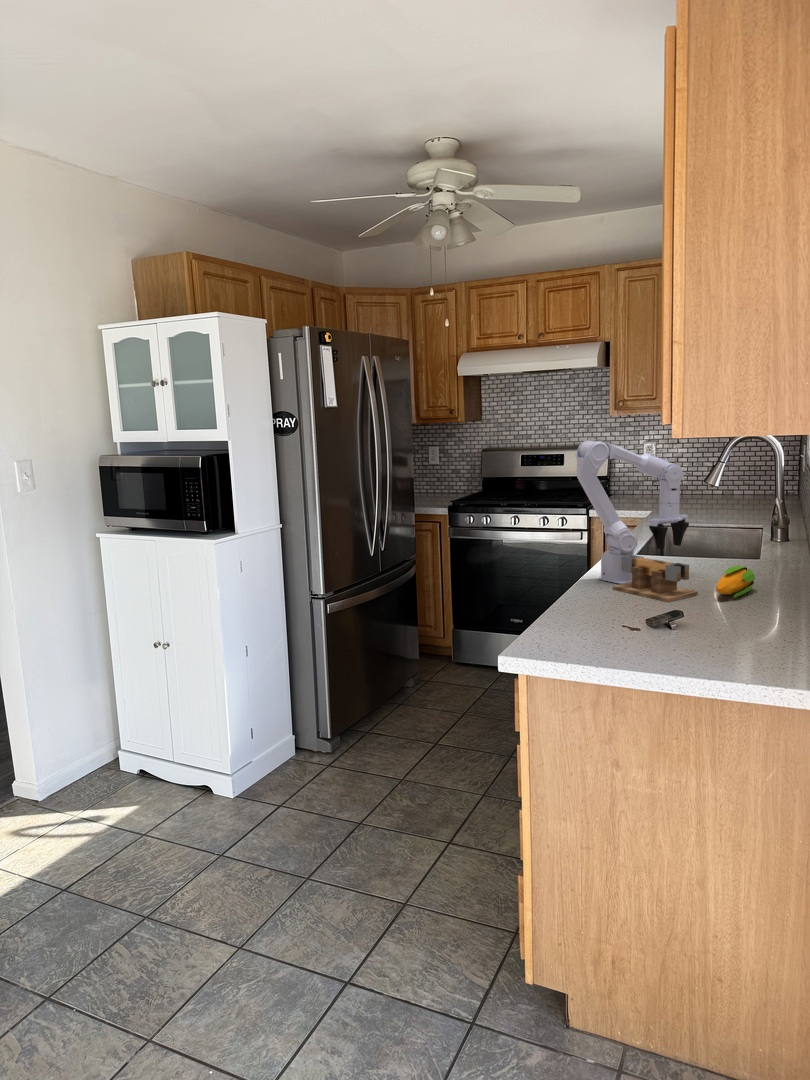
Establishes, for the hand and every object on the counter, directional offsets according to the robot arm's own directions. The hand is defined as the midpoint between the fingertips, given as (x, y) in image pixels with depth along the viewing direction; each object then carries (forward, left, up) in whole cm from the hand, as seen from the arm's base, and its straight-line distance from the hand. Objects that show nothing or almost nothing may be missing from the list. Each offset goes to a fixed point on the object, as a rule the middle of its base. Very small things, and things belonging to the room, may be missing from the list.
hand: (668, 547), depth 232 cm
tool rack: (+10, -18, -9) cm, 23 cm away
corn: (+26, -5, -10) cm, 28 cm away
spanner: (+10, -18, -4) cm, 21 cm away
